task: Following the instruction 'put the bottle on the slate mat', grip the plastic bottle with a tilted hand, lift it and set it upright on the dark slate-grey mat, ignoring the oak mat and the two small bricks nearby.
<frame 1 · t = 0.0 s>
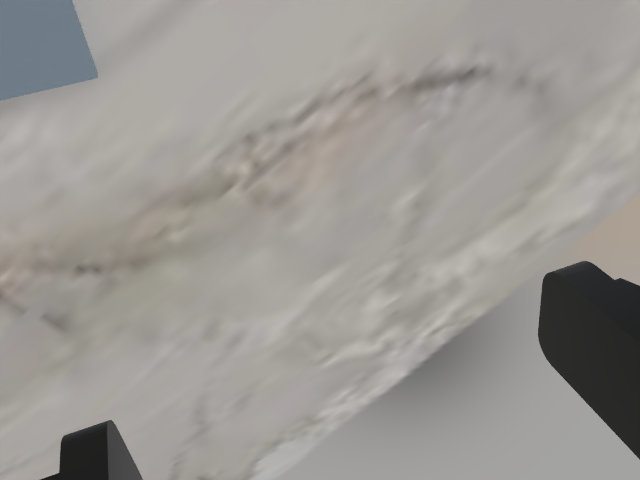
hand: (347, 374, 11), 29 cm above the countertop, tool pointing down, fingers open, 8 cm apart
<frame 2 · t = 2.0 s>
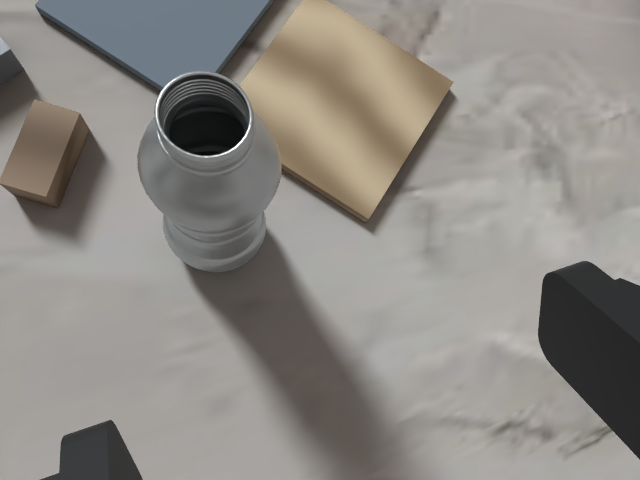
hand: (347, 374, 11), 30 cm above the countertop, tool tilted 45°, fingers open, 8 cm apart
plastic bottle: (216, 232, 42), on the countertop
walnut brick: (53, 162, 41), on the countertop
oak mat: (336, 106, 45), on the countertop
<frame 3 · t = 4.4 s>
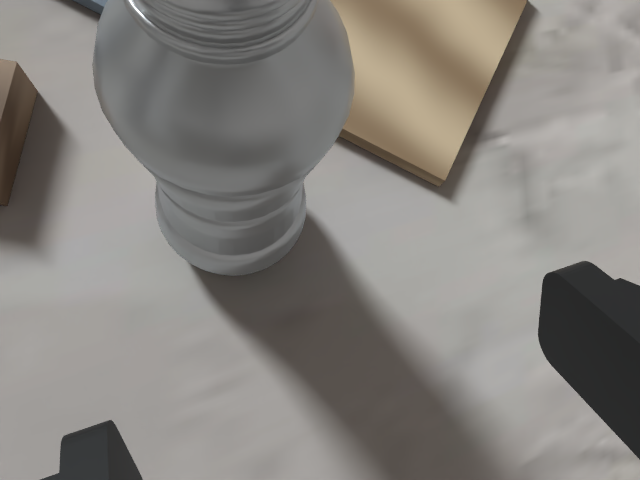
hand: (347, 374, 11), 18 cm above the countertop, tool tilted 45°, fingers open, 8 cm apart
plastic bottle: (233, 220, 29), on the countertop
oak mat: (378, 33, 33), on the countertop
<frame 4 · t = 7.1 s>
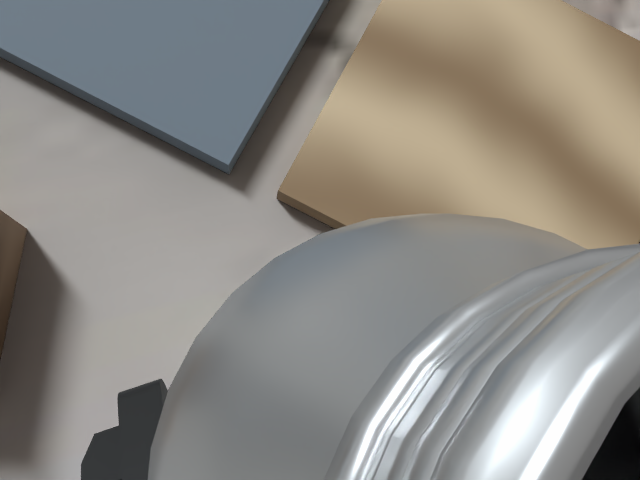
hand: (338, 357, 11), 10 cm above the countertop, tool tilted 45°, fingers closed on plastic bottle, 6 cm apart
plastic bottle: (306, 415, 21), on the countertop, touching gripper
oak mat: (493, 136, 24), on the countertop
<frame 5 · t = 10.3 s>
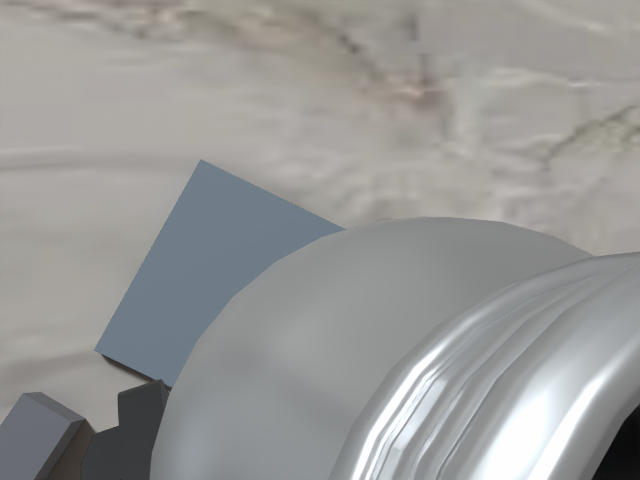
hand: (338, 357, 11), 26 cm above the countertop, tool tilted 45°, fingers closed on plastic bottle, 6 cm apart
slate mat: (247, 299, 37), on the countertop
charcoal brick: (32, 453, 34), on the countertop
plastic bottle: (307, 416, 21), point 15 cm above the countertop, touching gripper
when the fingers open (13 cm above the countertop, at t = 13.9 s): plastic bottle drops 1 cm, resting on slate mat.
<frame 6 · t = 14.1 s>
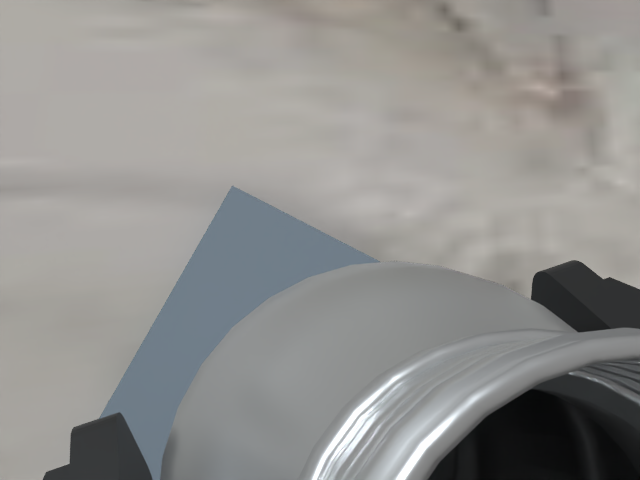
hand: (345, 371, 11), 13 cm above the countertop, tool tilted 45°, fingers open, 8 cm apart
slate mat: (301, 411, 23), on the countertop
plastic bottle: (301, 419, 22), point 1 cm above the countertop, touching slate mat
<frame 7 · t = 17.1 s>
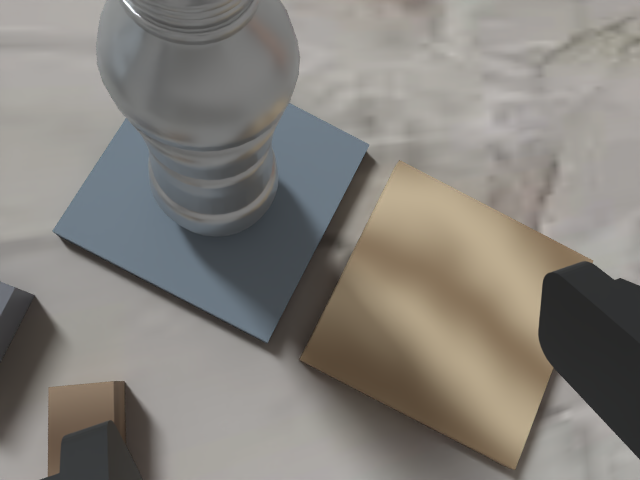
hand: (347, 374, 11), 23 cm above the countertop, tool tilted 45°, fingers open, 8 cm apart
slate mat: (219, 191, 35), on the countertop
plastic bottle: (217, 191, 34), point 1 cm above the countertop, touching slate mat
walnut brick: (96, 443, 31), on the countertop
oak mat: (448, 309, 35), on the countertop
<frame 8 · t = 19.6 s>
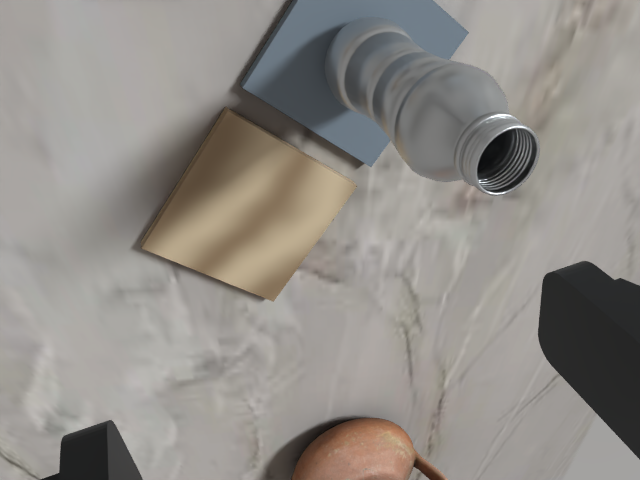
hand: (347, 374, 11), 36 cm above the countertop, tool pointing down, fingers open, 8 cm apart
ceramic jug: (349, 447, 70), on the countertop
slate mat: (355, 55, 46), on the countertop
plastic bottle: (356, 56, 45), point 1 cm above the countertop, touching slate mat
oak mat: (250, 210, 50), on the countertop
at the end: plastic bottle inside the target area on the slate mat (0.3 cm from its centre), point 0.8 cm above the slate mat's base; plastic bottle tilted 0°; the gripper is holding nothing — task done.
